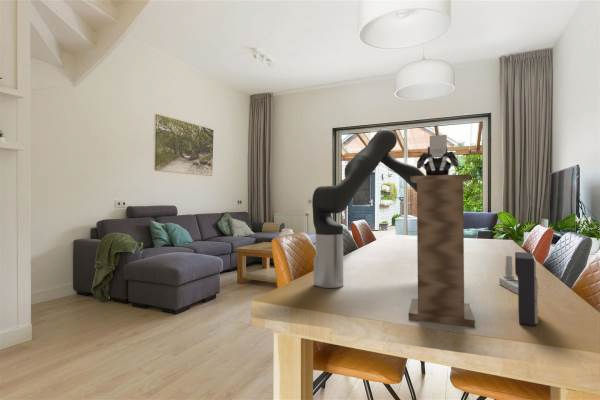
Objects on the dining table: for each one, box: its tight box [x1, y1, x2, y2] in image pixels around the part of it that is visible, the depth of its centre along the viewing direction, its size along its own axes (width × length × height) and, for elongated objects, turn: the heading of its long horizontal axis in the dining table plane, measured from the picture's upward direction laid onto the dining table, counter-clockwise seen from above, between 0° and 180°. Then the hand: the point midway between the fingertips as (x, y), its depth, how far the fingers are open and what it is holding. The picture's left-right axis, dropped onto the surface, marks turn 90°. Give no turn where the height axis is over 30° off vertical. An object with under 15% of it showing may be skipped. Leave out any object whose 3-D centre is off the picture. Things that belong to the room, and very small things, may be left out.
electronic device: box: [498, 255, 518, 295], centre depth 108 cm, size 5×10×15 cm
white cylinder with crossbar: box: [429, 134, 448, 158], centre depth 105 cm, size 21×4×4 cm, turn 159°
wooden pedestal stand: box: [408, 173, 476, 328], centre depth 84 cm, size 14×14×34 cm
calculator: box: [514, 251, 539, 327], centre depth 81 cm, size 11×4×15 cm, turn 148°
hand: (437, 146), depth 109 cm, fingers closed on white cylinder with crossbar, 3 cm apart
